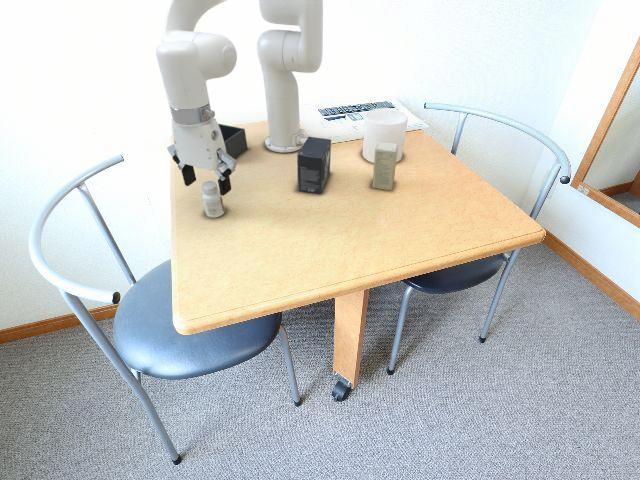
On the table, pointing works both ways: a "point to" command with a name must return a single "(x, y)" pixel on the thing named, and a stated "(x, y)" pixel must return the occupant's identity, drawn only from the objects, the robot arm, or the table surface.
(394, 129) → the cup
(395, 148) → the box
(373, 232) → the table surface
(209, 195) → the pill bottle
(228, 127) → the bin
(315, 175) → the box
